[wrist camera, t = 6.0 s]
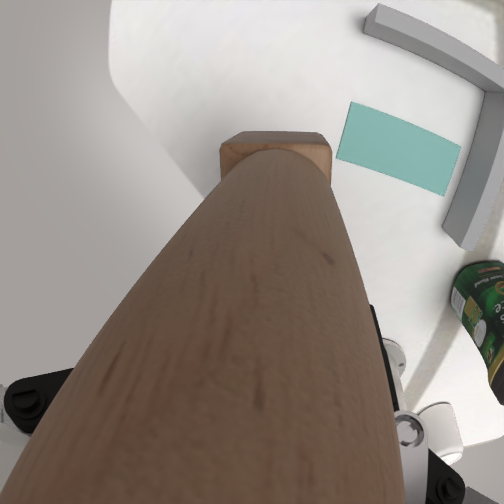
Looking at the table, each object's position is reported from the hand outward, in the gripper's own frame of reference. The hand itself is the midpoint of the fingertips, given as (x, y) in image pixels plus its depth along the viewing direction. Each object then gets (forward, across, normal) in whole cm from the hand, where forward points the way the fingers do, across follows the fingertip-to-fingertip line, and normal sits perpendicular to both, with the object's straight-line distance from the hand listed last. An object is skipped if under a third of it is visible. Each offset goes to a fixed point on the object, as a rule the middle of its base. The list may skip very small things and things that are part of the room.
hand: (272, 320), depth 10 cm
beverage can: (+24, -41, +35) cm, 59 cm away
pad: (+23, -10, -5) cm, 26 cm away
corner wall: (+23, -12, -9) cm, 27 cm away
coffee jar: (+23, -29, +6) cm, 38 cm away
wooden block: (+6, 0, 0) cm, 6 cm away
